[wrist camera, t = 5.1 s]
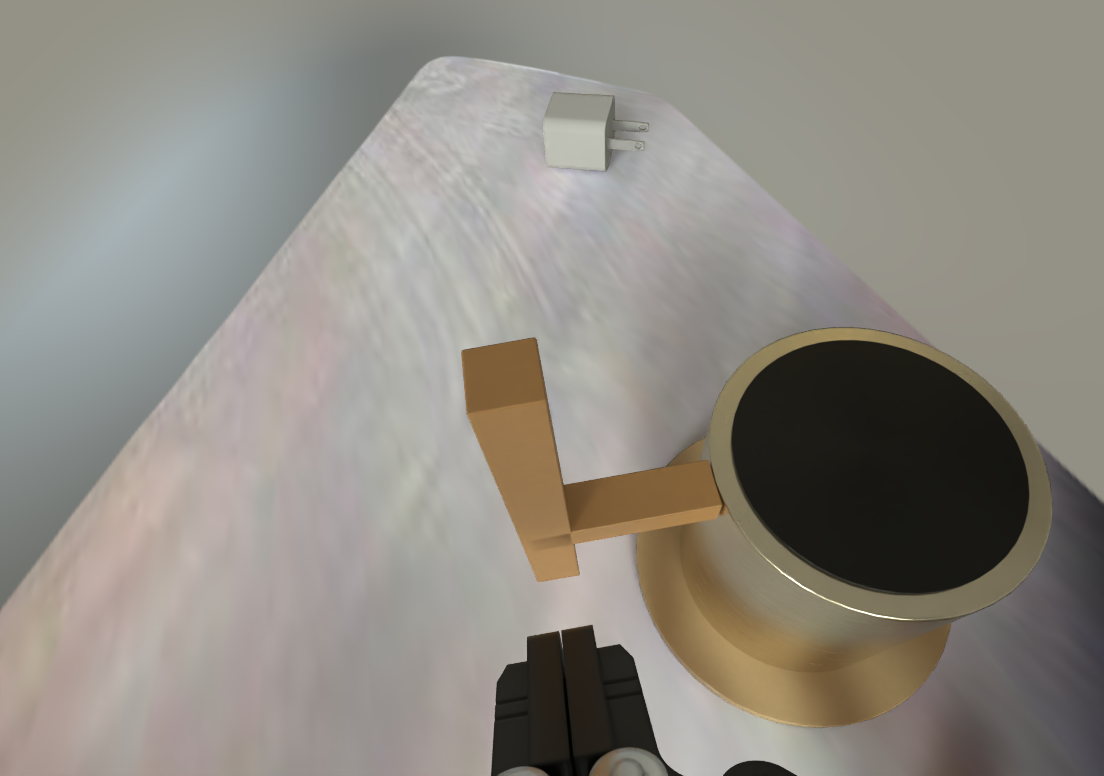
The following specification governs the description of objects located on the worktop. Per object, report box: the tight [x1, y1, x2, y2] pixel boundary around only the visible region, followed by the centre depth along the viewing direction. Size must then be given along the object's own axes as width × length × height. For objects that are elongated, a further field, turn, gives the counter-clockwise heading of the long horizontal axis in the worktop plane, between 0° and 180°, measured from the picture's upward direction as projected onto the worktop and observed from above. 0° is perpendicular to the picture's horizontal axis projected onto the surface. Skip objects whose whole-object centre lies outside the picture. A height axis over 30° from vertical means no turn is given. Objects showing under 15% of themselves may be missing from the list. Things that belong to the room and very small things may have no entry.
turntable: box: [636, 437, 951, 728], centre depth 29 cm, size 14×14×1 cm
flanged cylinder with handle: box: [461, 327, 1053, 673], centre depth 21 cm, size 16×10×19 cm, turn 99°
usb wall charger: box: [543, 92, 649, 171], centre depth 44 cm, size 4×7×4 cm, turn 77°
